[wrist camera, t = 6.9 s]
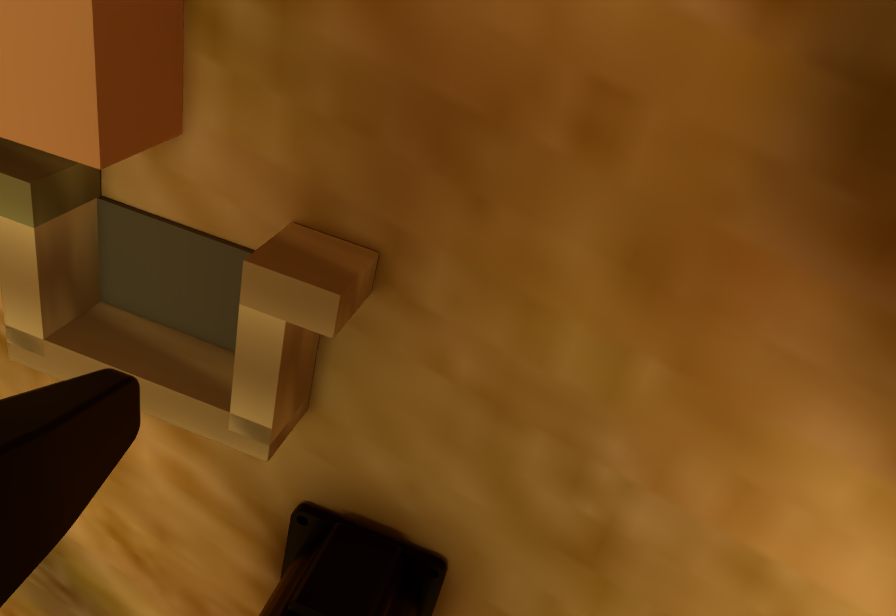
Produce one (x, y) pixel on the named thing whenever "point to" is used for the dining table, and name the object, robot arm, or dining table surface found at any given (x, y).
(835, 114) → the dining table surface
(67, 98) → the block
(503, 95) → the dining table surface
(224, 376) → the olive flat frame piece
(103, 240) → the mat
